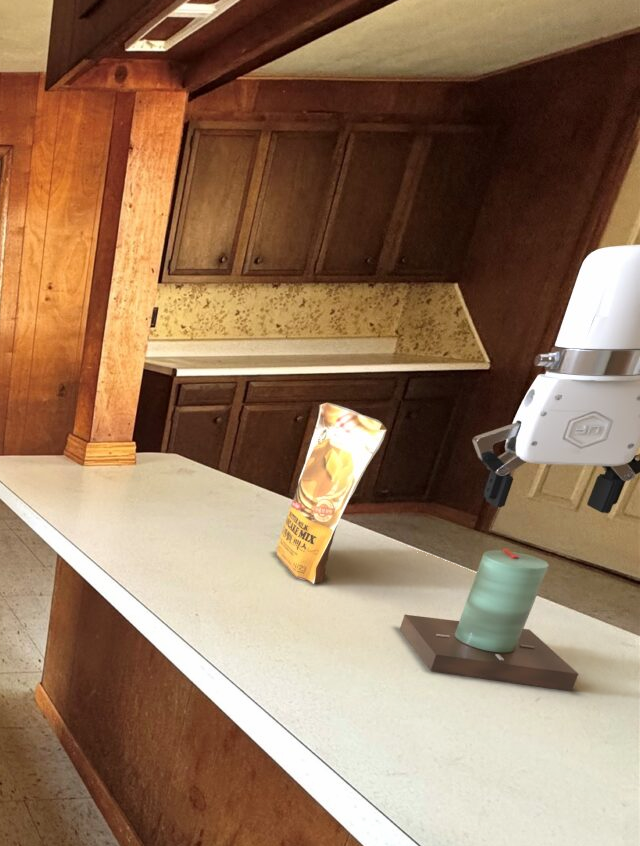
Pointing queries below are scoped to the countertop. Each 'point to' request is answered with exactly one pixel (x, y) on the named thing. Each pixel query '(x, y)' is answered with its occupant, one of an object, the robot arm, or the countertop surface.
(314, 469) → the pancake mix bag
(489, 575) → the mint green cylinder
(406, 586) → the countertop surface
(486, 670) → the dark brown slab
